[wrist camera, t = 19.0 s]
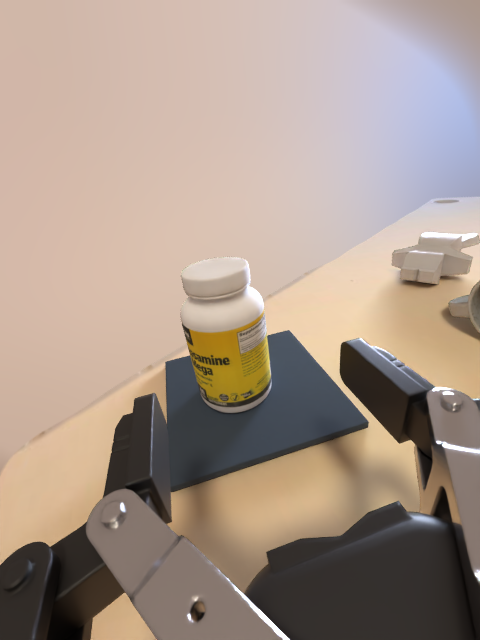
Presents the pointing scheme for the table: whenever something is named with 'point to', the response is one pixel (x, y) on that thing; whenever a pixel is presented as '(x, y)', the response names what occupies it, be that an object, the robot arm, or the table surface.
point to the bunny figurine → (435, 257)
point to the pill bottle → (226, 334)
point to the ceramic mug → (468, 306)
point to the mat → (254, 416)
